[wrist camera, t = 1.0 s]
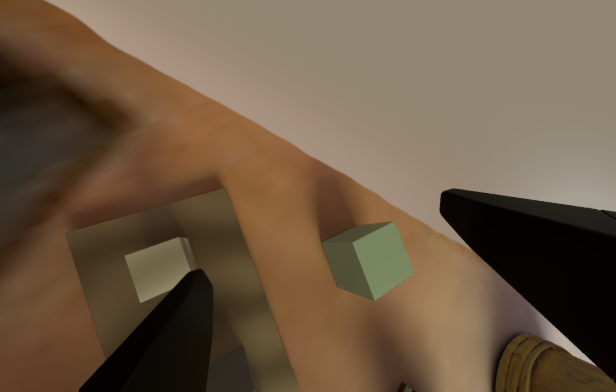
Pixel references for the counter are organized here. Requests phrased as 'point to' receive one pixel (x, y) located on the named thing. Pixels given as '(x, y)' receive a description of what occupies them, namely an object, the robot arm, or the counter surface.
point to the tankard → (547, 369)
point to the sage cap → (368, 259)
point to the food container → (405, 388)
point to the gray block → (232, 374)
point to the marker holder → (171, 269)
